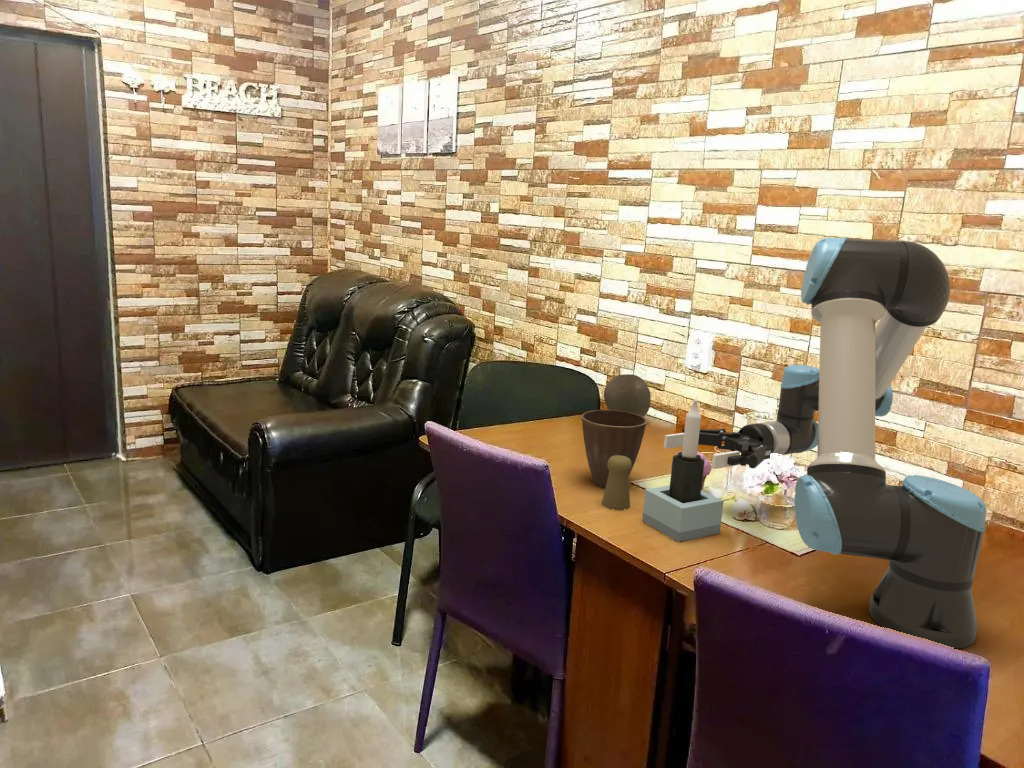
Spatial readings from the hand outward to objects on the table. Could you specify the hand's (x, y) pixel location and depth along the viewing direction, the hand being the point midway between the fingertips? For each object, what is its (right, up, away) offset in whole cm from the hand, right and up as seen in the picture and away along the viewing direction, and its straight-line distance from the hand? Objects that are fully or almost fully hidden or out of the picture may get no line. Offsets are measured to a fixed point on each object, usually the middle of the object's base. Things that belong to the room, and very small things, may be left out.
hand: (688, 451), depth 149 cm
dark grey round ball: (0, +2, +83) cm, 83 cm away
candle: (-1, -14, +3) cm, 14 cm away
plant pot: (-13, -10, +27) cm, 32 cm away
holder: (-1, -16, +3) cm, 16 cm away
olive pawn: (-13, -13, +14) cm, 23 cm away
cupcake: (+6, -12, +24) cm, 27 cm away
